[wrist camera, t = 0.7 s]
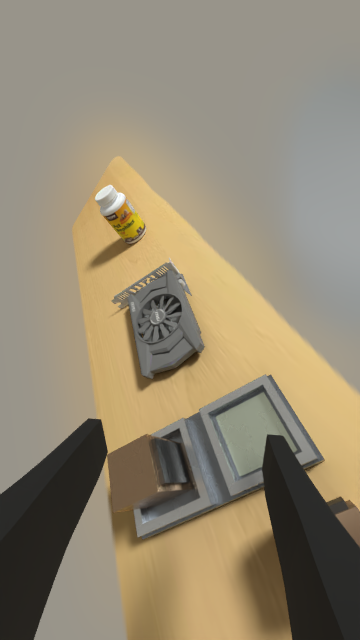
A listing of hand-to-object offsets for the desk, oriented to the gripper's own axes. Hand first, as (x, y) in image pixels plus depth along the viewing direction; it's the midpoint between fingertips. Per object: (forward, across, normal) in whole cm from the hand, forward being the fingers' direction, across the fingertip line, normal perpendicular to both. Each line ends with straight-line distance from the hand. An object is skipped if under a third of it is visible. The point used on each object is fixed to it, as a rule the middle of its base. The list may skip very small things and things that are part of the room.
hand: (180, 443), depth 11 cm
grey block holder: (+9, -2, +12) cm, 15 cm away
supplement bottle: (+45, +15, -5) cm, 48 cm away
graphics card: (+25, +6, +6) cm, 26 cm away
